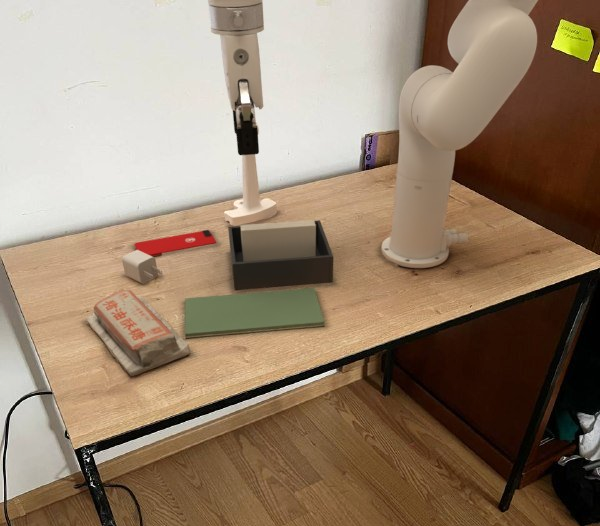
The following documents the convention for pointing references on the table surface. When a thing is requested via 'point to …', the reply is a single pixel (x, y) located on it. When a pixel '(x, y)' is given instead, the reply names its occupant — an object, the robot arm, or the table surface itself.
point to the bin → (281, 265)
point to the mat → (252, 312)
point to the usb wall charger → (140, 266)
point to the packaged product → (135, 332)
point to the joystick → (250, 197)
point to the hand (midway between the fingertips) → (246, 143)
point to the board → (278, 240)
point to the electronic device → (175, 243)
